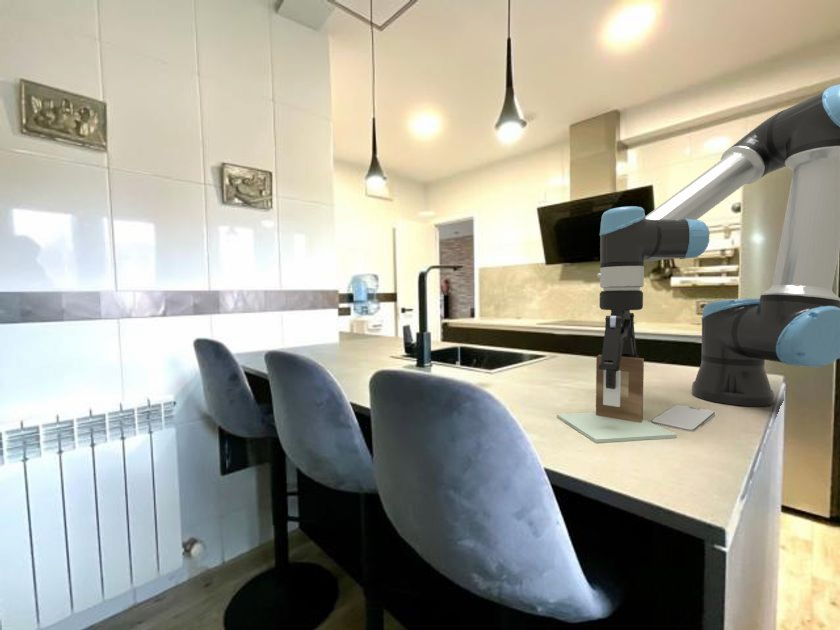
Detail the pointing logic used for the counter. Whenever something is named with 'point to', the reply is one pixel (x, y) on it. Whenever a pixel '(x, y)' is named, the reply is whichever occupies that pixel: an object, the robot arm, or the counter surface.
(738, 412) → the counter surface
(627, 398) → the board
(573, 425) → the mat
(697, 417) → the smartphone
